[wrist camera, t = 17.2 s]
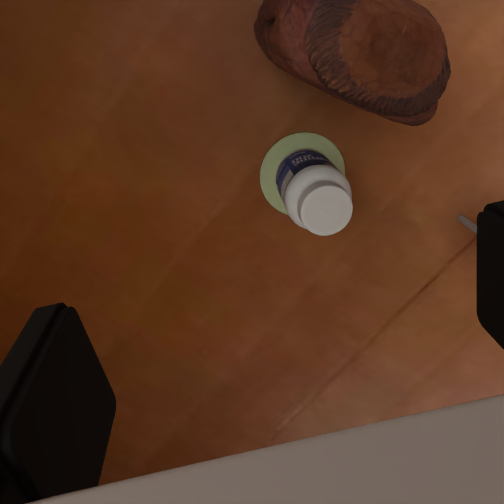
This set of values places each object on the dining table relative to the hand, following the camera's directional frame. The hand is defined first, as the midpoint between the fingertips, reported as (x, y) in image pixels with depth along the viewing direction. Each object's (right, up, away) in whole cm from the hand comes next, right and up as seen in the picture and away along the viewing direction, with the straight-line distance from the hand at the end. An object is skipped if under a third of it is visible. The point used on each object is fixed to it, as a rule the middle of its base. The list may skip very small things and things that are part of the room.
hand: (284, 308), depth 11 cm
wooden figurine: (+5, +19, +29) cm, 35 cm away
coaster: (+4, +8, +33) cm, 34 cm away
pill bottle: (+4, +8, +33) cm, 34 cm away
